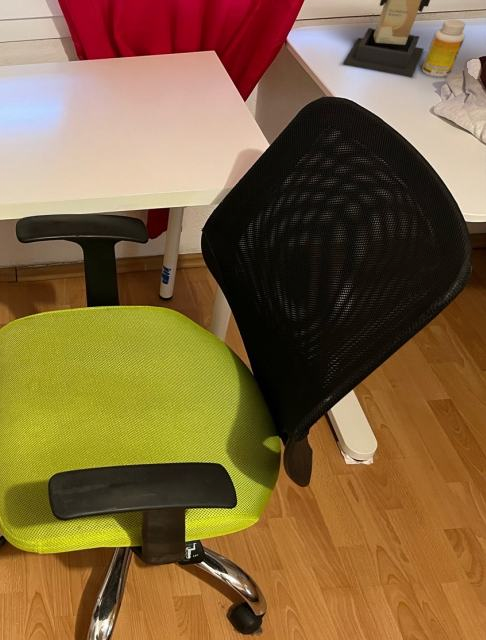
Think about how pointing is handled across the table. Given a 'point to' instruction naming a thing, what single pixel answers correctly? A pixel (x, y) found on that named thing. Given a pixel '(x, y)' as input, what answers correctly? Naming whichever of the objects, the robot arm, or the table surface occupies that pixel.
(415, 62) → the dark grey box holder
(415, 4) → the cosmetic box
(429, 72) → the supplement bottle
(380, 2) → the robot arm
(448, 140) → the table surface
